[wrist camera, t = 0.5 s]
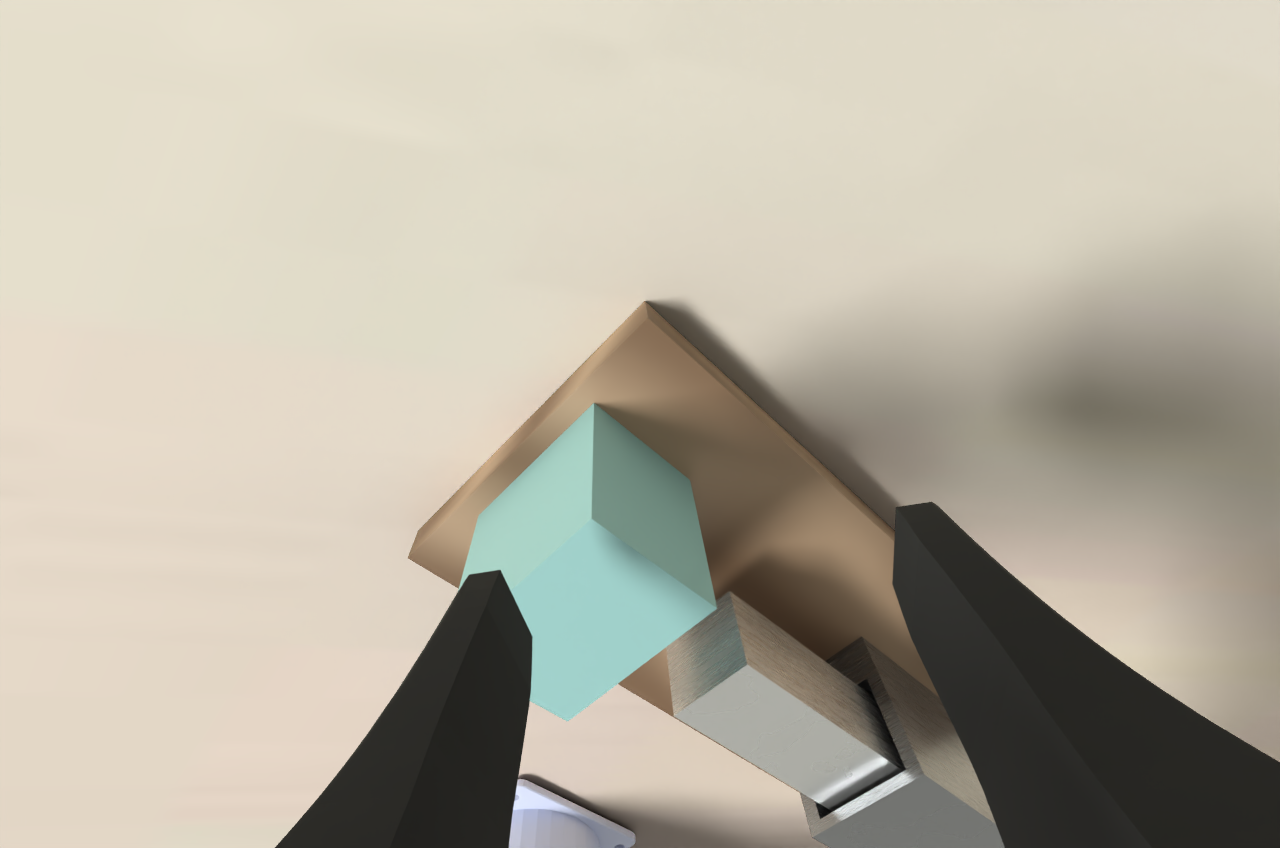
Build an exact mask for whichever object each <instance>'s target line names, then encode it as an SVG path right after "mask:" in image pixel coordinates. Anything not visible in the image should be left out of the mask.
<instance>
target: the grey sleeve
mask: <svg viewBox="0 0 1280 848" xmlns="http://www.w3.org/2000/svg"><path fill="white" fill-rule="evenodd" d="M825 662H827V663H828V664H830V665H831V666H832V667H834V668H835V669H836V670H838V671H839V672H840V673H842V674H843V675H844V676H846V677H847V678H849V679H850V680H851V681H853V682H854V683H855V684H857V685H858V686H859V687H861V688H862V689H863V690H865V691H866V692H868V693H869V694H870V695H872V696H873V697H874V698H875V699H876V701H877V703H878V706H879V708H880V710H881V713H882V715H883V717H884V720H885V722H886V724H887V727H888V729H889V731H890V734H891V736H892V738H893V741H894V743H895V745H896V748H897V750H898V752H899V754H900V757H901V759H902V761H903V764H904V766H905V768H906V770H905V771H903V772H901V773H900V774H898V775H896V776H894V777H893V778H891V779H889V780H887V781H886V782H884V783H882V784H880V785H879V786H877V787H875V788H873V789H872V790H870V791H868V792H866V793H865V794H863V795H861V796H859V797H858V798H856V799H854V800H853V801H851V802H849V803H847V804H846V805H844V806H842V807H840V808H839V809H837V810H835V811H831V810H829V809H828V808H826V807H824V806H823V805H821V804H819V803H818V802H816V801H814V800H813V799H811V798H809V797H808V796H806V795H804V794H803V793H801V792H800V795H801V798H802V802H803V806H804V810H805V813H806V817H807V821H808V824H809V828H810V832H811V835H812V838H814V839H816V840H817V841H819V842H821V843H823V844H824V845H826V846H828V847H830V848H1005V847H1004V844H1003V842H1002V839H1001V836H1000V834H999V831H998V828H997V826H996V823H995V820H994V818H993V815H992V813H991V810H990V807H989V805H988V802H987V799H986V797H985V794H984V791H983V789H982V787H981V784H980V782H979V780H978V777H977V775H976V773H975V771H974V768H973V766H972V764H971V761H970V759H969V757H968V755H967V753H966V751H965V749H964V747H963V745H962V743H961V741H960V739H959V737H958V735H957V733H956V730H955V728H954V726H953V724H952V722H951V720H950V718H949V716H948V714H947V712H946V710H945V708H944V706H943V704H942V702H941V700H940V698H939V697H938V696H937V695H936V694H934V693H933V692H932V691H931V690H929V689H928V688H927V687H925V686H924V685H923V684H922V683H920V682H919V681H918V680H917V679H915V678H914V677H913V676H911V675H910V674H909V673H908V672H906V671H905V670H904V669H903V668H901V667H900V666H899V665H898V664H896V663H895V662H894V661H892V660H891V659H890V658H889V657H887V656H886V655H885V654H884V653H882V652H881V651H880V650H878V649H877V648H876V647H875V646H873V645H872V644H871V643H870V642H868V641H867V640H866V639H864V638H863V637H862V636H861V637H860V638H858V639H857V640H855V641H854V642H852V643H851V644H849V645H848V646H846V647H845V648H843V649H842V650H840V651H839V652H837V653H836V654H834V655H833V656H832V657H830V658H829V659H827V660H826V661H825Z"/></svg>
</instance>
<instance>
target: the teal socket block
mask: <svg viewBox="0 0 1280 848" xmlns="http://www.w3.org/2000/svg"><path fill="white" fill-rule="evenodd" d="M495 570H501V572H502V574H503V576H504V578H505V580H506V582H507V584H508V587H509V589H510V591H511V593H512V595H513V597H514V599H515V601H516V603H517V605H518V607H519V609H520V612H521V614H522V616H523V618H524V620H525V622H526V624H527V626H528V628H529V630H530V632H531V634H532V637H533V639H532V677H531V694H530V701H531V702H533V703H535V704H537V705H538V706H540V707H542V708H544V709H546V710H548V711H549V712H551V713H553V714H555V715H557V716H559V717H560V718H562V719H564V720H566V721H569V720H570V719H572V718H573V717H574V716H576V715H577V714H578V713H580V712H581V711H582V710H584V709H585V708H586V707H588V706H589V705H590V704H592V703H593V702H594V701H595V700H597V699H598V698H599V697H601V696H602V695H603V694H605V693H606V692H607V691H609V690H610V689H611V688H613V687H614V686H615V685H617V684H618V683H619V682H621V681H622V680H623V679H625V678H626V677H627V676H629V675H630V674H631V673H633V672H634V671H635V670H637V669H638V668H639V667H640V666H642V665H643V664H644V663H646V662H647V661H648V660H650V659H651V658H652V657H654V656H655V655H656V654H658V653H659V652H660V651H662V650H663V649H664V648H666V647H667V646H668V645H670V644H671V643H672V642H674V641H675V640H676V639H678V638H679V637H680V636H682V635H683V634H684V633H685V632H687V631H688V630H689V629H691V628H692V627H693V626H695V625H696V624H697V623H699V622H700V621H701V620H703V619H704V618H705V617H707V616H708V615H709V614H711V613H712V612H713V611H715V610H716V609H717V605H716V600H715V595H714V591H713V586H712V581H711V576H710V572H709V567H708V562H707V558H706V553H705V548H704V543H703V539H702V534H701V529H700V525H699V520H698V515H697V510H696V506H695V501H694V496H693V491H692V487H691V482H690V480H689V479H688V478H687V477H686V476H684V475H683V474H682V473H681V472H679V471H678V470H677V469H676V468H674V467H673V466H672V465H671V464H670V463H668V462H667V461H666V460H665V459H663V458H662V457H661V456H660V455H658V454H657V453H656V452H655V451H653V450H652V449H651V448H650V447H648V446H647V445H646V444H645V443H643V442H642V441H641V440H640V439H638V438H637V437H636V436H635V435H633V434H632V433H631V432H630V431H629V430H627V429H626V428H625V427H624V426H622V425H621V424H620V423H619V422H617V421H616V420H615V419H614V418H612V417H611V416H610V415H609V414H607V413H606V412H605V411H604V410H602V409H601V408H600V407H599V406H597V405H596V404H595V403H593V404H592V405H591V406H590V407H589V408H588V409H587V410H586V411H585V412H584V413H583V414H582V415H581V416H580V417H579V418H578V419H577V420H576V421H575V422H574V423H573V424H572V425H571V426H570V427H569V428H568V429H567V430H565V431H564V432H563V433H562V434H561V435H560V436H559V437H558V438H557V439H556V440H555V441H554V442H553V443H552V444H551V445H550V446H549V447H548V448H547V449H546V450H545V451H544V452H543V453H542V454H541V455H540V456H539V457H538V458H537V459H536V460H535V461H534V462H533V463H532V464H531V465H530V466H529V467H528V468H527V469H526V470H525V471H524V472H522V473H521V474H520V475H519V476H518V477H517V478H516V479H515V480H514V481H513V482H512V483H511V484H510V485H509V486H508V487H507V488H506V489H505V490H504V491H503V492H502V493H501V494H500V495H499V496H498V497H497V498H496V499H495V500H494V501H493V502H492V503H491V504H490V505H489V506H488V507H487V508H486V509H485V510H484V511H483V512H482V513H481V514H479V516H478V519H477V523H476V527H475V530H474V534H473V538H472V542H471V545H470V549H469V553H468V556H467V560H466V564H465V567H464V571H463V575H462V579H461V582H460V586H459V589H460V588H461V586H462V584H463V583H464V581H465V579H466V578H467V577H468V575H470V574H476V573H482V572H489V571H495ZM458 591H459V590H458Z"/></svg>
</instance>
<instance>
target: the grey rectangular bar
mask: <svg viewBox="0 0 1280 848" xmlns="http://www.w3.org/2000/svg"><path fill="white" fill-rule="evenodd" d="M716 605H717V609H716V610H715V611H713V612H712V613H711V614H709V615H708V616H707V617H705V618H704V619H703V620H701V621H700V622H699V623H697V624H696V625H695V626H693V627H692V628H691V629H689V630H688V631H687V632H685V633H684V634H683V635H682V636H680V637H679V638H678V639H676V640H675V641H674V642H672V643H671V644H670V645H668V646H667V647H666V650H667V659H668V668H669V677H670V686H671V695H672V704H673V713H674V717H676V718H678V719H679V720H681V721H683V722H684V723H686V724H688V725H689V726H691V727H693V728H694V729H696V730H698V731H699V732H701V733H703V734H704V735H706V736H708V737H709V738H711V739H713V740H714V741H716V742H718V743H719V744H721V745H723V746H724V747H726V748H728V749H729V750H731V751H733V752H734V753H736V754H738V755H739V756H741V757H743V758H744V759H746V760H748V761H749V762H751V763H753V764H754V765H756V766H758V767H759V768H761V769H763V770H764V771H766V772H768V773H769V774H771V775H773V776H774V777H776V778H778V779H779V780H781V781H783V782H784V783H786V784H788V785H789V786H791V787H793V788H794V789H796V790H798V791H799V792H801V793H803V794H804V795H806V796H808V797H809V798H811V799H813V800H814V801H816V802H818V803H819V804H821V805H823V806H824V807H826V808H828V809H829V810H831V811H835V810H837V809H839V808H840V807H842V806H844V805H846V804H847V803H849V802H851V801H853V800H854V799H856V798H858V797H859V796H861V795H863V794H865V793H866V792H868V791H870V790H872V789H873V788H875V787H877V786H879V785H880V784H882V783H884V782H886V781H887V780H889V779H891V778H893V777H894V776H896V775H898V774H900V773H901V772H903V771H905V770H906V768H905V766H904V764H903V761H902V759H901V757H900V754H899V752H898V750H897V748H896V745H895V743H894V741H893V738H892V736H891V734H890V731H889V729H888V727H887V724H886V722H885V720H884V717H883V715H882V713H881V710H880V708H879V706H878V703H877V701H876V699H875V698H874V697H873V696H872V695H870V694H869V693H868V692H866V691H865V690H863V689H862V688H861V687H859V686H858V685H857V684H855V683H854V682H853V681H851V680H850V679H849V678H847V677H846V676H844V675H843V674H842V673H840V672H839V671H838V670H836V669H835V668H834V667H832V666H831V665H830V664H828V663H827V662H825V661H824V660H823V659H821V658H820V657H819V656H817V655H816V654H815V653H813V652H812V651H811V650H809V649H808V648H806V647H805V646H804V645H802V644H801V643H800V642H798V641H797V640H796V639H794V638H793V637H792V636H790V635H789V634H787V633H786V632H785V631H783V630H782V629H781V628H779V627H778V626H777V625H775V624H774V623H773V622H771V621H770V620H768V619H767V618H766V617H764V616H763V615H762V614H760V613H759V612H758V611H756V610H755V609H754V608H752V607H751V606H749V605H748V604H747V603H745V602H744V601H743V600H741V599H740V598H739V597H737V596H736V595H735V594H733V593H732V592H730V591H728V592H727V593H726V594H725V595H723V596H722V597H721V598H719V599H718V600H717V601H716Z"/></svg>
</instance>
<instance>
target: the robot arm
mask: <svg viewBox="0 0 1280 848" xmlns="http://www.w3.org/2000/svg"><path fill="white" fill-rule="evenodd" d="M892 585H893V587H894V590H895V593H896V596H897V599H898V602H899V605H900V608H901V611H902V614H903V617H904V620H905V622H906V625H907V628H908V631H909V634H910V636H911V639H912V641H913V643H914V645H915V647H916V650H917V652H918V654H919V656H920V658H921V660H922V662H923V664H924V666H925V668H926V671H927V673H928V675H929V677H930V679H931V681H932V683H933V685H934V687H935V689H936V691H937V693H938V695H939V697H940V700H941V702H942V704H943V706H944V708H945V710H946V712H947V714H948V716H949V718H950V720H951V722H952V724H953V726H954V728H955V730H956V733H957V735H958V737H959V739H960V741H961V743H962V745H963V747H964V749H965V751H966V753H967V755H968V757H969V759H970V761H971V764H972V766H973V768H974V771H975V773H976V775H977V777H978V780H979V782H980V784H981V787H982V789H983V791H984V794H985V797H986V799H987V802H988V805H989V807H990V810H991V813H992V815H993V818H994V820H995V823H996V826H997V828H998V831H999V834H1000V836H1001V839H1002V842H1003V844H1004V847H1005V848H1280V762H1278V761H1276V760H1275V759H1273V758H1271V757H1270V756H1268V755H1266V754H1265V753H1263V752H1261V751H1260V750H1258V749H1256V748H1255V747H1253V746H1251V745H1250V744H1248V743H1246V742H1244V741H1243V740H1241V739H1239V738H1238V737H1236V736H1234V735H1233V734H1231V733H1229V732H1228V731H1226V730H1224V729H1223V728H1221V727H1219V726H1218V725H1216V724H1214V723H1213V722H1211V721H1209V720H1208V719H1206V718H1205V717H1203V716H1201V715H1200V714H1198V713H1197V712H1195V711H1194V710H1192V709H1191V708H1189V707H1188V706H1186V705H1185V704H1183V703H1182V702H1180V701H1178V700H1177V699H1175V698H1174V697H1172V696H1171V695H1169V694H1168V693H1166V692H1165V691H1163V690H1162V689H1160V688H1159V687H1157V686H1156V685H1154V684H1153V683H1151V682H1150V681H1149V680H1147V679H1146V678H1144V677H1143V676H1141V675H1140V674H1138V673H1137V672H1136V671H1134V670H1133V669H1131V668H1130V667H1128V666H1127V665H1126V664H1124V663H1123V662H1121V661H1120V660H1119V659H1117V658H1116V657H1114V656H1113V655H1112V654H1110V653H1109V652H1108V651H1106V650H1105V649H1104V648H1102V647H1101V646H1100V645H1098V644H1097V643H1095V642H1094V641H1093V640H1092V639H1090V638H1089V637H1088V636H1086V635H1085V634H1084V633H1082V632H1081V631H1080V630H1079V629H1077V628H1076V627H1075V626H1073V625H1072V624H1071V623H1070V622H1068V621H1067V620H1066V619H1064V618H1063V617H1062V616H1061V615H1059V614H1058V613H1057V612H1056V611H1055V610H1053V609H1052V608H1051V607H1050V606H1048V605H1047V604H1046V603H1045V602H1043V601H1042V600H1041V599H1040V598H1039V597H1038V596H1036V595H1035V594H1034V593H1033V592H1032V591H1030V590H1029V589H1028V588H1027V587H1026V586H1025V585H1023V584H1022V583H1021V582H1020V581H1019V580H1018V579H1016V578H1015V577H1014V576H1013V575H1012V574H1010V573H1009V572H1008V571H1007V570H1006V569H1005V568H1004V567H1003V566H1001V565H1000V564H999V563H998V562H997V561H996V560H995V559H994V558H992V557H991V556H990V555H989V554H988V553H987V552H986V551H985V550H984V549H983V548H982V547H980V546H979V545H978V544H977V543H976V542H975V541H974V540H973V539H972V538H971V537H970V536H969V535H968V534H966V533H965V532H964V531H963V530H962V529H961V528H960V527H959V526H958V525H957V524H956V523H955V522H954V521H953V520H952V519H951V518H950V517H949V516H948V515H947V514H946V513H945V512H943V511H942V510H941V509H940V508H939V507H938V506H937V505H936V504H934V503H933V502H928V503H921V504H915V505H909V506H902V507H896V519H895V540H894V560H893V580H892ZM532 639H533V637H532V634H531V632H530V630H529V628H528V626H527V624H526V622H525V620H524V618H523V616H522V614H521V612H520V609H519V607H518V605H517V603H516V601H515V599H514V597H513V595H512V593H511V591H510V589H509V587H508V584H507V582H506V580H505V578H504V576H503V574H502V572H501V570H495V571H489V572H482V573H476V574H470V575H468V577H467V578H466V579H465V581H464V583H463V584H462V586H461V588H460V589H459V591H458V593H457V594H456V596H455V598H454V600H453V601H452V603H451V605H450V606H449V608H448V610H447V611H446V613H445V615H444V616H443V618H442V620H441V622H440V623H439V625H438V627H437V628H436V630H435V632H434V633H433V635H432V636H431V638H430V640H429V641H428V643H427V645H426V646H425V648H424V650H423V651H422V653H421V654H420V656H419V657H418V659H417V661H416V662H415V664H414V665H413V667H412V669H411V670H410V672H409V673H408V675H407V677H406V678H405V680H404V681H403V683H402V684H401V686H400V687H399V689H398V690H397V692H396V693H395V695H394V696H393V698H392V699H391V701H390V702H389V704H388V705H387V706H386V708H385V709H384V711H383V712H382V714H381V715H380V717H379V718H378V719H377V721H376V722H375V724H374V725H373V727H372V728H371V730H370V731H369V733H368V734H367V735H366V737H365V738H364V739H363V741H362V742H361V744H360V745H359V746H358V748H357V749H356V750H355V752H354V753H353V754H352V756H351V757H350V758H349V760H348V761H347V762H346V764H345V765H344V766H343V767H342V769H341V770H340V771H339V772H338V774H337V775H336V776H335V778H334V779H333V780H332V781H331V783H330V784H329V785H328V786H327V788H326V789H325V790H324V791H323V793H322V794H321V795H320V796H319V798H318V799H317V800H316V801H315V802H314V803H313V805H312V806H311V807H310V808H309V809H308V810H307V812H306V813H305V814H304V815H303V816H302V818H301V819H300V820H299V821H298V822H297V823H296V825H295V826H294V827H293V828H292V829H291V830H290V831H289V833H288V834H287V835H286V836H285V837H284V838H283V839H282V840H281V842H280V843H279V844H278V845H277V846H276V847H275V848H630V847H632V846H633V845H634V844H635V842H636V840H635V834H634V833H633V832H632V831H630V830H628V829H626V828H624V827H622V826H620V825H618V824H616V823H614V822H611V821H609V820H607V819H605V818H603V817H601V816H599V815H597V814H595V813H593V812H591V811H589V810H587V809H585V808H583V807H581V806H579V805H577V804H575V803H572V802H570V801H568V800H566V799H564V798H562V797H560V796H558V795H556V794H554V793H552V792H550V791H548V790H546V789H544V788H542V787H540V786H538V785H536V784H533V783H531V782H529V781H527V780H524V779H518V775H519V768H520V762H521V755H522V749H523V742H524V736H525V729H526V722H527V715H528V708H529V701H530V694H531V677H532Z"/></svg>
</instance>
